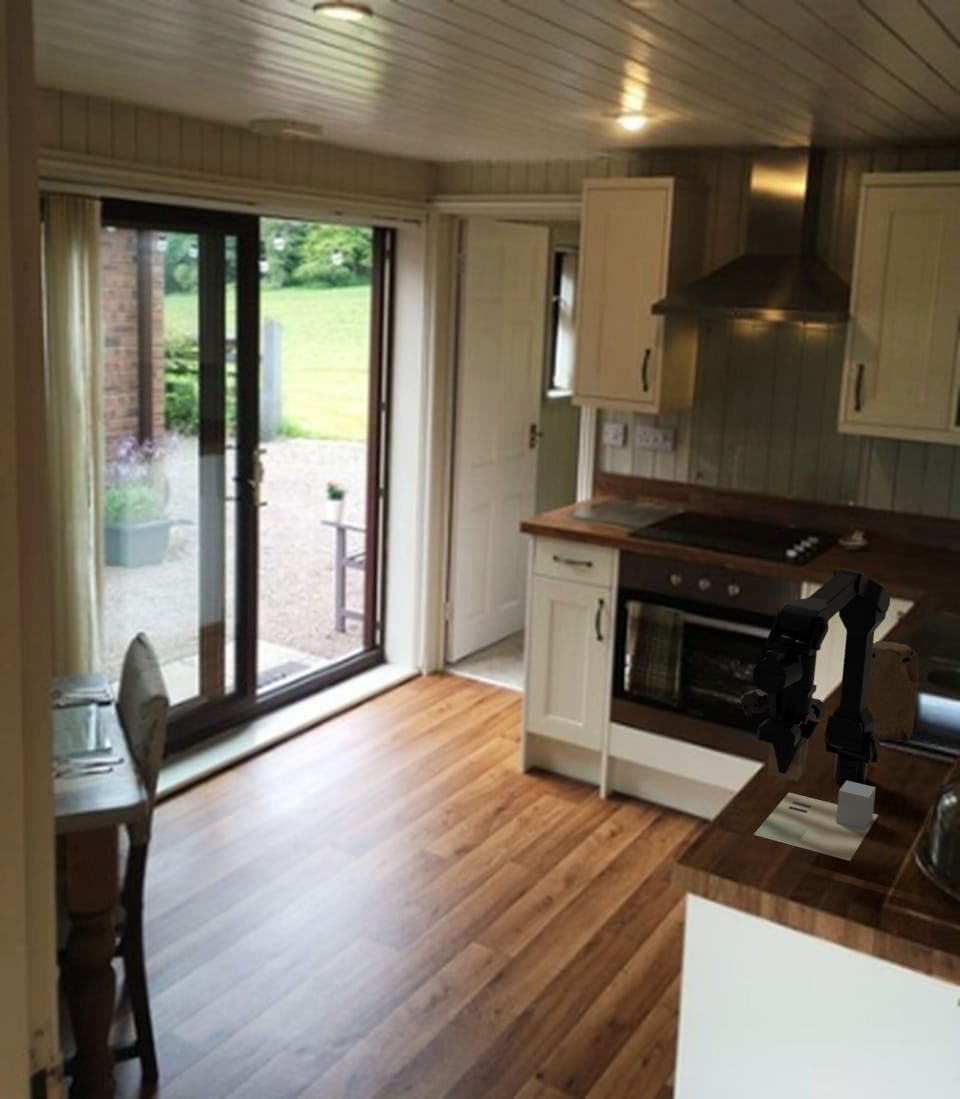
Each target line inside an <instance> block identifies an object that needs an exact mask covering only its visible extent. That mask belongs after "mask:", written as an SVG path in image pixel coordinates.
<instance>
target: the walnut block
mask: <svg viewBox="0 0 960 1099" xmlns="http://www.w3.org/2000/svg"><path fill="white" fill-rule="evenodd" d="M800 738H802V739H803V741H802V743H801V745H800V747H799V749H798V751H797V753H796V755H795V757H794V759H793V761H792V763H791V764H790V766H789V768H788V770H787V772H786V773H785V774H783V773H780V772H779V770H778V765H777V760H776V755H775V751H774V747H773V744H772V743H769V744H770V746H769V753H768V763H767V764H768V765H767V775H770V776H773V777H778V778H780V779H785V780H790V781H794V782H798V781H799V780H800V779H801V777H802V776H803V775H804V774H805V773H806V771H807V769H806V768H807V760H808V753H809V752H808V751H809V743H810V738H805V737H800Z"/></svg>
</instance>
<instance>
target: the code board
mask: <svg viewBox="0 0 960 1099" xmlns="http://www.w3.org/2000/svg"><path fill="white" fill-rule="evenodd" d="M837 806H838V803H832V802H829V801H825V800H820V799H816V798H813V797H812V798H811V797H808V796H806V795H805V796H804V795H800V794H796V793H792V792H788V793H787V794H786V795H785V797H784V798H783V799H782V800H781V801H780V803H779V804H778V805H777V806H776V807H775V808H774V809H773V811H771V813H770V814H769V815H768V817H767V818H766V819H765V820H764V821H763V823H761V825H759V827H758V829H757V830H756V831H755V832H754V834H753V835H755V836H758V837H762V838H765V839H769V840H773V841H776V842H781V843H783V844H787V845H790V846H791V845H792V846H794V847H799V848H802V849H805V850H808V851H813V852H817V853H821V854H824V855H827V856H831V857H834V858H838V859H841V860H842V859H843V860H846V861H851V860H852V858H853V857H854V855H855V853H856V852H857V850H858V848H859V847H860V845H861V844H862V841H863V840H864V839H865V837H866V835H867V834H868V833H869V831H870V829H871V827H872V826H873V824H874V823H875V821H876V820H877V818H878V817H879V814H877V813H873V816H872V820H871V822H870V823H869V825H868V827H867V828H866V830H863V829H859V828H855V827H851V826H847V825H844V824H840V823H836V816H837Z"/></svg>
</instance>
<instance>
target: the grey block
mask: <svg viewBox="0 0 960 1099" xmlns="http://www.w3.org/2000/svg"><path fill="white" fill-rule="evenodd" d="M876 788H877V787H876V786H871V785H867V784H859V783H855V782H851V781H847V780H846V782H845V783H844V785H843V786H842V787H841V786H840V788H839V790H838V796H837V797H838V799H837V805H838V806H837V816H836V823H840V824H844V825H847V826H851V827H855V828H859V829H863V830H866V828H867V827H868V825H869V823H870V822H871V820H872V816H873V814H874V808H875V807H874V806H875V805H874V804H875V796H876Z"/></svg>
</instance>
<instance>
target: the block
mask: <svg viewBox="0 0 960 1099" xmlns="http://www.w3.org/2000/svg"><path fill="white" fill-rule="evenodd" d="M919 668H920V667H919V660H918V655H917V653H916V652H915V650H914V649H913V648H912V647H910V645H908V644H904V643H902V644H900V643H898V642H895V641H894V642H893V641H883V640H879V641H875V642H873V649H872V659H871V669H870V679H869V688H868V698H867V707H868V709H869V711H870V713H871V715H872V717H873V719H874V733H875V735H876V737H877V739H878V740H881V741H889V742H898V743H901V742H906V741H909V740H910V739H911V736H912V734H913V729H914V723H915V712H916V704H917V693H918V684H919V676H920V675H919V670H920V669H919Z"/></svg>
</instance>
